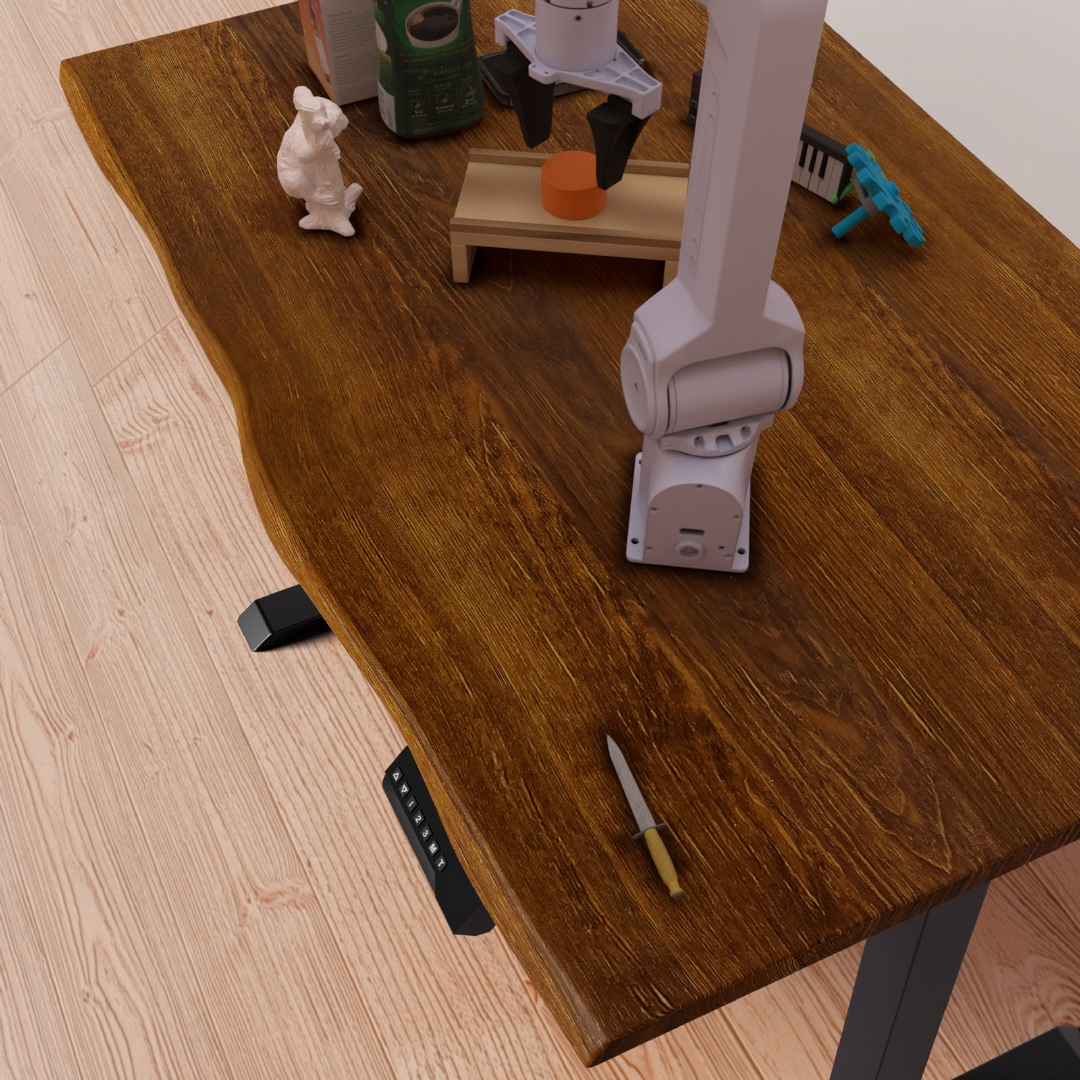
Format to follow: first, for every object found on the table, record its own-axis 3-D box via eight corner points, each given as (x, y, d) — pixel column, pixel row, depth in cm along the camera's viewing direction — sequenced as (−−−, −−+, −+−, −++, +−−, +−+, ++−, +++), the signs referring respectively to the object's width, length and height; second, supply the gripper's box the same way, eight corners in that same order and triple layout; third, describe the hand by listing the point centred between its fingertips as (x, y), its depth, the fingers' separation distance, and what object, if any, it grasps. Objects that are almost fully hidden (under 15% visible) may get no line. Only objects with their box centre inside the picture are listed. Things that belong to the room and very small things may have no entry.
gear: (944, 259, 93) (876, 176, 88) (880, 303, 96) (811, 225, 91) (911, 190, 101) (847, 111, 96) (853, 233, 104) (788, 158, 98)
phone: (648, 63, 111) (503, 97, 108) (647, 74, 112) (503, 108, 109) (613, 24, 116) (472, 55, 112) (612, 34, 117) (473, 66, 113)
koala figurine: (378, 239, 97) (360, 109, 88) (299, 255, 96) (272, 126, 86) (356, 181, 102) (337, 53, 93) (280, 196, 101) (253, 67, 91)
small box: (308, 66, 114) (289, -42, 105) (362, 53, 115) (348, -55, 107) (334, 108, 109) (317, -1, 101) (390, 94, 110) (378, -15, 102)
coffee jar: (468, 84, 112) (456, -121, 97) (494, 129, 107) (486, -80, 92) (370, 103, 110) (343, -103, 95) (392, 150, 105) (367, -60, 90)
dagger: (590, 737, 68) (621, 723, 68) (592, 744, 69) (623, 730, 69) (659, 901, 62) (694, 886, 62) (662, 906, 62) (696, 892, 63)
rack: (676, 300, 92) (683, 241, 88) (453, 282, 94) (449, 223, 89) (682, 222, 99) (689, 163, 94) (473, 206, 100) (469, 147, 95)
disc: (571, 172, 95) (571, 142, 92) (619, 199, 92) (621, 168, 90) (527, 201, 92) (527, 171, 90) (576, 229, 90) (577, 198, 88)
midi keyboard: (686, 123, 108) (691, 73, 104) (695, 117, 108) (701, 67, 104) (836, 208, 100) (847, 157, 96) (845, 202, 100) (857, 151, 96)
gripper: (460, -28, 80) (470, 145, 91) (617, 50, 74) (608, 226, 85) (532, -63, 83) (533, 109, 94) (688, 9, 77) (670, 184, 88)
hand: (573, 162), depth 89 cm, fingers open, 7 cm apart
